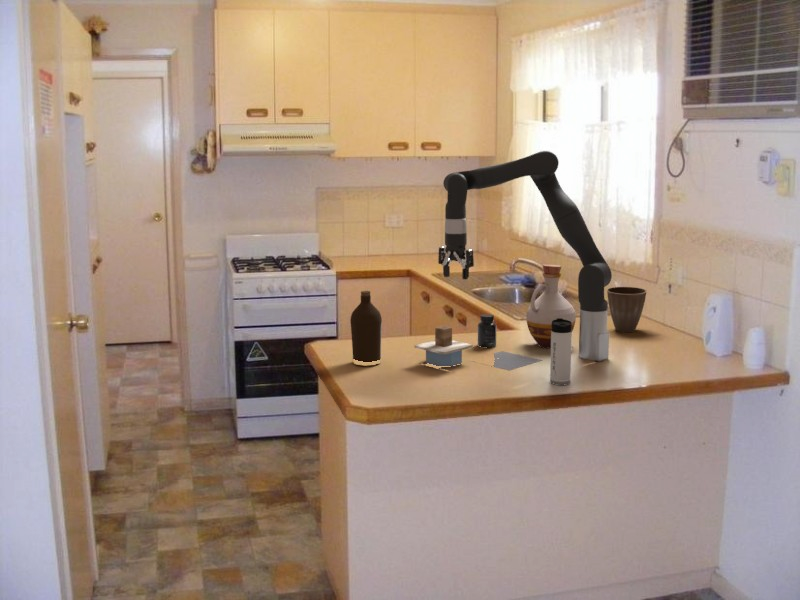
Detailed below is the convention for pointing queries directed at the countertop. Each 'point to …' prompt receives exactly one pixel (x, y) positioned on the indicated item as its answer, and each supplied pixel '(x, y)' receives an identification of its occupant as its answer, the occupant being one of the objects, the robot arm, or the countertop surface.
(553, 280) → the jug
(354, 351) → the olive oil
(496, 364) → the mat
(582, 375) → the countertop surface
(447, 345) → the lid
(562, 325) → the travel mug
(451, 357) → the bowl
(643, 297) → the plant pot
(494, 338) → the supplement bottle
